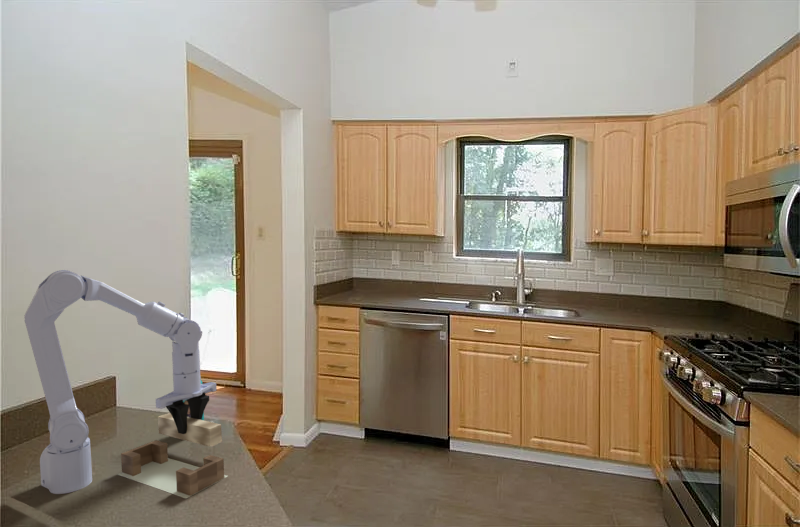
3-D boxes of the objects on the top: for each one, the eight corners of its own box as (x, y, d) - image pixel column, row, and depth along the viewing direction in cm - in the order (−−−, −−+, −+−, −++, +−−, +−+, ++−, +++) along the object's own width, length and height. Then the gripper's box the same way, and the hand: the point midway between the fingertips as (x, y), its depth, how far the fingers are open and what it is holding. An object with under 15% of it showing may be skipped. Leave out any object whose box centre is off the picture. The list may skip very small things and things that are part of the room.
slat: (158, 433, 117) (158, 416, 117) (170, 429, 120) (169, 412, 119) (210, 447, 108) (210, 428, 108) (221, 442, 111) (221, 424, 110)
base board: (117, 478, 104) (117, 474, 104) (161, 460, 113) (160, 455, 113) (186, 503, 93) (185, 498, 93) (228, 480, 102) (228, 475, 102)
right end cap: (176, 491, 96) (175, 470, 96) (211, 474, 103) (210, 455, 103) (190, 495, 94) (189, 475, 94) (224, 478, 101) (223, 458, 101)
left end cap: (121, 472, 105) (120, 453, 105) (156, 457, 112) (155, 440, 112) (133, 476, 103) (132, 457, 103) (168, 460, 110) (167, 443, 110)
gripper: (169, 381, 105) (172, 444, 105) (224, 365, 117) (226, 422, 118) (148, 377, 108) (151, 439, 109) (204, 363, 121) (206, 418, 121)
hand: (189, 430), depth 114 cm, fingers closed on slat, 3 cm apart
